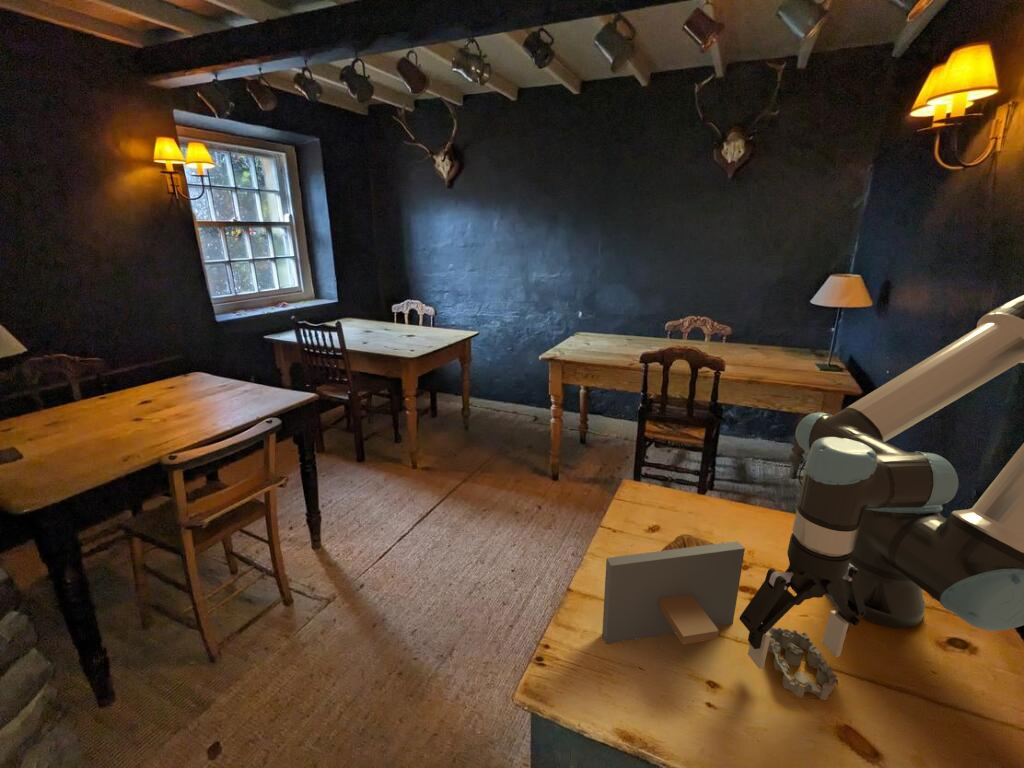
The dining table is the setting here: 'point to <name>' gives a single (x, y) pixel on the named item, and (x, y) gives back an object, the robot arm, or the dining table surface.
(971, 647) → the dining table surface
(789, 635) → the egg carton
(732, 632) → the dining table surface
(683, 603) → the wall board
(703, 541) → the croissant
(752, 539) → the dining table surface
